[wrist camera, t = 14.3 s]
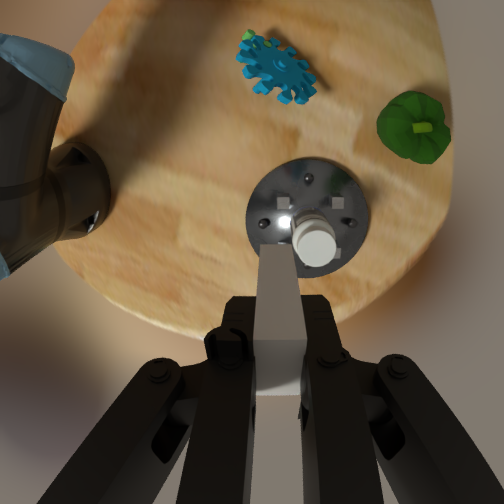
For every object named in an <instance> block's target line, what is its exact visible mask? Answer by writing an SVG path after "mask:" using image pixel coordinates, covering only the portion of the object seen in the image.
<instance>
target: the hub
mask: <svg viewBox="0 0 504 504" xmlns="http://www.w3.org/2000/svg"><path fill="white" fill-rule="evenodd" d="M304 206H313V207H316V208H318V209H320V210H321V211H322V212H323V213H324V215H325V216H326V218H327V220H328V222H329V223H330V225H331V227H332V228H333V230H334V233H335V242H336V253H335V256H334V257H333V259H332V260H331V261H330V262H329V263H327V264H326V265H324V266H320V267H312V266H309V265H307V264H305V263H304V262H303V261H302V260H301V259H300V257H299V255H298V254H297V252H296V251H295V249H294V247H293V244H292V236H291V230H290V220H291V217H292V215H293V214H294V213H295V212H296V211H297V210H298V209H299V208H301V207H304ZM367 226H368V210H367V205H366V201H365V198H364V196H363V193H362V191H361V190H360V188H359V186H358V185H357V184H356V182H355V181H354V180H353V179H352V178H351V177H350V176H349V175H348V174H347V173H346V172H344V171H343V170H341V169H340V168H338V167H336V166H334V165H332V164H329V163H327V162H324V161H319V160H311V159H304V160H296V161H291V162H288V163H285V164H283V165H281V166H279V167H277V168H275V169H273V170H272V171H271V172H269V173H268V174H267V175H266V176H265V177H264V178H262V180H261V181H260V182H259V183H258V184H257V186H256V188H255V189H254V191H253V193H252V195H251V197H250V199H249V203H248V206H247V211H246V230H247V235H248V238H249V241H250V243H251V245H252V247H253V249H254V251H255V252H256V254H257V255H258V256H259V255H260V244H291V245H292V250H293V255H294V261H295V267H296V272H297V278H315V277H320V276H324V275H327V274H330V273H332V272H334V271H336V270H338V269H339V268H341V267H342V266H344V265H345V264H346V263H348V262H349V261H350V260H351V259H352V258H353V257H354V255H355V254H356V253H357V251H358V250H359V248H360V246H361V245H362V243H363V240H364V238H365V235H366V231H367Z"/></svg>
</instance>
